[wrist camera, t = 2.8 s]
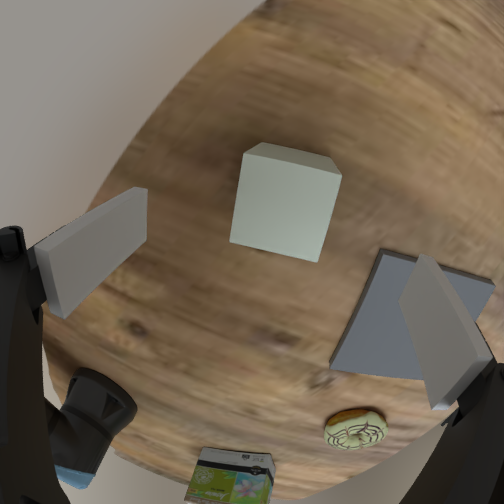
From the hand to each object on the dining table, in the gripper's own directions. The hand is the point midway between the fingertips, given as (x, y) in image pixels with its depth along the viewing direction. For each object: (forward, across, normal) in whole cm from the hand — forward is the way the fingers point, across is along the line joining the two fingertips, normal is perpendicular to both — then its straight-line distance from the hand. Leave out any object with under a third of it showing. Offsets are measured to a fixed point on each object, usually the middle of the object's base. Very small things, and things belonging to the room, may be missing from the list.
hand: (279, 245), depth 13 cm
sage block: (+14, 0, 0) cm, 14 cm away
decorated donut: (+14, +20, -34) cm, 42 cm away
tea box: (+13, +4, -58) cm, 60 cm away
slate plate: (+14, +18, -12) cm, 25 cm away
